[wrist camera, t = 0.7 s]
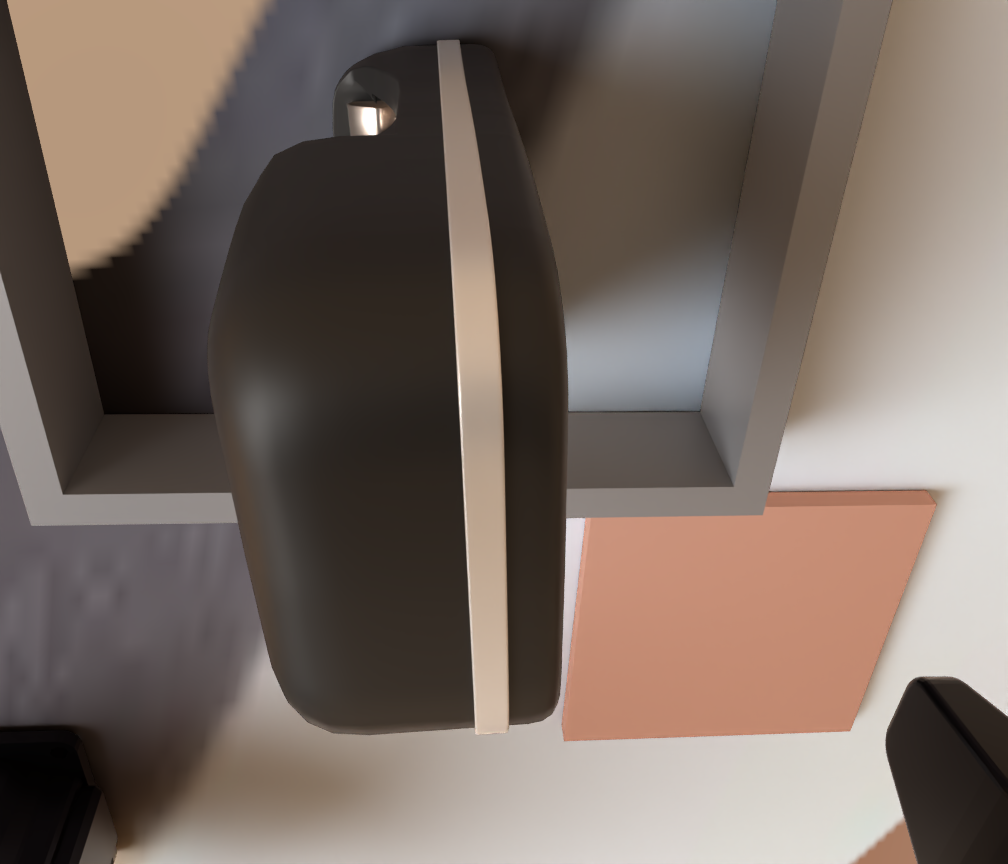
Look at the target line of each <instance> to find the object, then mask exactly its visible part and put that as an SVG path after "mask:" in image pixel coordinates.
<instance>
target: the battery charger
mask: <svg viewBox="0 0 1008 864" xmlns="http://www.w3.org/2000/svg"><path fill="white" fill-rule="evenodd" d="M333 136H334V137H331V138H325V139H318V140H311V141H304V142H301V143H299V144H297V145H295V146H293V147H290V148H288V149H286V150H284V151H282V152H280V153H278V154H276V155H274V156H273V158H272V159H271V161H270V162H269V164H268V165H267V167H266V168H265V169H264V171H263V172H262V174H261V175H260V177H259V179H258V181H257V183H256V185H255V186H254V188H253V190H252V191H251V193H250V195H249V196H248V198H247V200H246V202H245V203H244V205H243V208H242V211H241V214H240V217H239V219H238V222H237V225H236V228H235V232H234V235H233V238H232V242H231V245H230V248H229V251H228V255H227V259H226V263H225V266H224V270H223V274H222V278H221V281H220V285H219V289H218V293H217V297H216V300H215V304H214V308H213V312H212V316H211V321H210V325H209V331H208V343H207V362H208V377H209V385H210V392H211V400H212V405H213V410H214V415H215V420H216V425H217V430H218V434H219V439H220V443H221V448H222V452H223V457H224V461H225V466H226V471H227V475H228V480H229V484H230V489H231V493H232V498H233V502H234V507H235V512H236V516H237V521H238V525H239V530H240V534H241V539H242V543H243V548H244V552H245V557H246V561H247V565H248V569H249V574H250V578H251V582H252V586H253V591H254V595H255V599H256V603H257V608H258V612H259V616H260V620H261V625H262V629H263V633H264V637H265V642H266V646H267V650H268V654H269V658H270V662H271V665H272V669H273V671H274V673H275V675H276V678H277V680H278V682H279V684H280V687H281V689H282V691H283V693H284V696H285V697H286V699H287V701H288V703H289V704H290V705H291V706H292V707H293V708H294V709H295V710H296V711H297V712H298V713H299V714H300V715H301V716H302V717H303V718H304V719H305V720H306V721H307V722H308V723H311V724H313V725H315V726H318V727H320V728H322V729H325V730H327V731H329V732H332V733H338V734H359V735H375V734H390V733H404V732H418V731H433V730H447V729H461V728H475V733H476V734H477V735H481V734H495V733H507V732H508V729H509V725H518V724H529V723H534V722H539V721H543V720H544V719H546V718H547V717H548V716H550V715H551V714H552V713H553V711H554V709H555V707H556V705H557V703H558V700H559V696H560V686H561V669H562V639H563V609H564V579H565V541H566V498H567V455H568V370H567V348H566V336H565V324H564V314H563V306H562V299H561V292H560V285H559V278H558V272H557V267H556V262H555V258H554V253H553V248H552V244H551V240H550V236H549V233H548V229H547V225H546V221H545V218H544V214H543V210H542V207H541V203H540V199H539V196H538V192H537V189H536V185H535V182H534V178H533V175H532V171H531V168H530V165H529V162H528V158H527V155H526V152H525V149H524V146H523V143H522V140H521V137H520V134H519V131H518V128H517V125H516V122H515V120H514V117H513V114H512V111H511V109H510V106H509V103H508V100H507V97H506V94H505V91H504V87H503V83H502V80H501V76H500V72H499V68H498V65H497V61H496V57H495V55H494V54H493V52H492V50H490V49H489V48H487V47H485V46H483V45H476V44H464V45H460V41H459V40H438V41H437V45H433V46H403V47H399V48H396V49H393V50H389V51H385V52H380V53H376V54H374V55H371V56H369V57H367V58H365V59H363V60H361V61H359V62H358V63H356V64H354V65H353V66H352V67H351V68H349V69H348V70H347V71H346V72H345V74H344V75H343V76H342V78H341V79H340V81H339V83H338V85H337V87H336V89H335V94H334V99H333Z"/></svg>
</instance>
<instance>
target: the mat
mask: <svg viewBox="0 0 1008 864" xmlns="http://www.w3.org/2000/svg"><path fill="white" fill-rule="evenodd" d="M936 505H937V504H936V503H935V501H934V500H933V499H932V497H931V496H930V495H929V493H928V492H927V491H926V490H919V491H837V492H769V493H768V497H767V501H766V505H765V509H764V513H763V515H747V516H677V517H607V518H586V520H585V529H584V537H583V546H582V555H581V563H580V572H579V581H578V589H577V598H576V606H575V615H574V624H573V632H572V641H571V649H570V658H569V667H568V675H567V684H566V692H565V701H564V710H563V718H562V730H563V737H564V741H580V740H609V739H638V738H667V737H696V736H725V735H754V734H784V733H813V732H842V731H850V730H851V728H852V725H853V722H854V720H855V717H856V715H857V712H858V709H859V707H860V704H861V701H862V699H863V696H864V694H865V691H866V688H867V686H868V683H869V681H870V678H871V675H872V673H873V670H874V667H875V665H876V662H877V660H878V657H879V654H880V652H881V649H882V647H883V644H884V641H885V639H886V636H887V633H888V631H889V628H890V626H891V623H892V620H893V618H894V615H895V613H896V610H897V607H898V605H899V602H900V599H901V597H902V594H903V592H904V589H905V586H906V584H907V581H908V579H909V576H910V573H911V571H912V568H913V565H914V563H915V560H916V558H917V555H918V552H919V550H920V547H921V545H922V542H923V539H924V537H925V534H926V532H927V529H928V526H929V524H930V521H931V518H932V516H933V513H934V511H935V508H936Z"/></svg>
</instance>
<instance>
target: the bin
mask: <svg viewBox="0 0 1008 864" xmlns="http://www.w3.org/2000/svg"><path fill="white" fill-rule="evenodd" d="M892 1H893V0H777V5H776V11H775V16H774V21H773V27H772V32H771V37H770V43H769V48H768V53H767V59H766V64H765V69H764V74H763V80H762V85H761V90H760V96H759V101H758V106H757V112H756V117H755V122H754V127H753V133H752V138H751V143H750V149H749V154H748V159H747V165H746V170H745V175H744V180H743V186H742V191H741V196H740V202H739V207H738V212H737V218H736V223H735V228H734V233H733V239H732V244H731V249H730V255H729V260H728V265H727V271H726V276H725V281H724V286H723V292H722V297H721V302H720V308H719V313H718V318H717V324H716V329H715V334H714V339H713V345H712V350H711V355H710V361H709V366H708V371H707V377H706V382H705V387H704V393H703V398H702V403H701V408H700V412H568V455H567V498H566V518H607V517H677V516H747V515H763V513H764V509H765V505H766V501H767V497H768V493H769V489H770V485H771V481H772V477H773V473H774V469H775V465H776V461H777V457H778V453H779V449H780V445H781V441H782V437H783V433H784V429H785V425H786V421H787V417H788V413H789V409H790V405H791V401H792V397H793V394H794V390H795V386H796V382H797V378H798V374H799V370H800V366H801V362H802V358H803V354H804V350H805V346H806V342H807V338H808V334H809V330H810V326H811V322H812V318H813V314H814V310H815V306H816V302H817V298H818V294H819V290H820V286H821V282H822V278H823V274H824V270H825V267H826V263H827V259H828V255H829V251H830V247H831V243H832V239H833V235H834V231H835V227H836V223H837V219H838V215H839V211H840V207H841V203H842V199H843V195H844V191H845V187H846V183H847V179H848V175H849V171H850V167H851V163H852V159H853V155H854V151H855V147H856V143H857V140H858V136H859V132H860V128H861V124H862V120H863V116H864V112H865V108H866V104H867V100H868V96H869V92H870V88H871V84H872V80H873V76H874V72H875V68H876V64H877V60H878V56H879V52H880V48H881V44H882V40H883V36H884V32H885V28H886V24H887V20H888V16H889V13H890V9H891V5H892ZM0 427H1V430H2V433H3V436H4V439H5V443H6V446H7V449H8V452H9V455H10V459H11V462H12V465H13V468H14V471H15V475H16V478H17V481H18V484H19V487H20V491H21V494H22V497H23V500H24V503H25V507H26V510H27V513H28V516H29V520H30V523H31V526H47V525H117V524H187V523H238V521H237V516H236V512H235V507H234V502H233V498H232V493H231V489H230V484H229V480H228V475H227V471H226V466H225V461H224V457H223V452H222V448H221V443H220V439H219V434H218V430H217V425H216V420H215V415H214V414H117V415H104V412H103V407H102V403H101V399H100V395H99V390H98V386H97V382H96V378H95V373H94V369H93V365H92V361H91V356H90V352H89V348H88V344H87V339H86V335H85V331H84V327H83V322H82V318H81V314H80V310H79V305H78V301H77V297H76V293H75V289H74V284H73V280H72V276H71V272H70V267H69V263H68V259H67V255H66V250H65V246H64V242H63V238H62V234H61V229H60V225H59V221H58V217H57V212H56V208H55V204H54V199H53V195H52V191H51V187H50V182H49V178H48V174H47V170H46V165H45V162H44V157H43V153H42V149H41V144H40V140H39V136H38V132H37V127H36V123H35V119H34V114H33V111H32V106H31V102H30V98H29V93H28V90H27V85H26V81H25V76H24V72H23V68H22V64H21V60H20V55H19V51H18V47H17V42H16V38H15V34H14V30H13V25H12V21H11V17H10V13H9V9H8V4H7V0H0Z"/></svg>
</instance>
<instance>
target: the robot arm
mask: <svg viewBox="0 0 1008 864" xmlns="http://www.w3.org/2000/svg"><path fill="white" fill-rule="evenodd" d="M886 754H887V758H888V762H889V765H890V769H891V772H892V776H893V779H894V783H895V786H896V790H897V794H898V797H899V801H900V804H901V808H902V811H903V815H904V818H905V822H906V825H907V829H908V832H909V836H910V839H911V843H912V846H913V850H914V854H915V857H916V861H917V864H1008V716H1006V715H1005V714H1004V713H1003V712H1001V711H1000V710H999V709H998V708H996V707H995V706H994V705H993V704H991V703H990V702H989V701H987V700H986V699H985V698H984V697H982V696H981V695H980V694H979V693H977V692H976V691H975V690H973V689H972V688H971V687H970V686H968V685H967V684H966V683H964V682H963V681H961V680H959V679H957V678H954V677H917V678H915V679H913V680H912V681H911V682H910V683H909V684H908V686H907V687H906V690H905V692H904V694H903V696H902V698H901V701H900V703H899V705H898V707H897V709H896V711H895V714H894V716H893V718H892V720H891V722H890V725H889V727H888V729H887V733H886ZM117 838H118V837H117V833H116V830H115V827H114V824H113V821H112V818H111V815H110V812H109V809H108V806H107V802H106V799H105V796H104V793H103V792H102V790H101V789H100V788H99V787H98V786H97V785H96V784H95V781H94V778H93V775H92V772H91V769H90V766H89V763H88V760H87V757H86V753H85V750H84V747H83V744H82V741H81V740H80V738H79V737H78V736H77V735H76V734H74V733H72V732H69V731H63V730H52V731H21V732H0V864H114V861H115V858H116V854H117V848H116V843H117Z"/></svg>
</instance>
